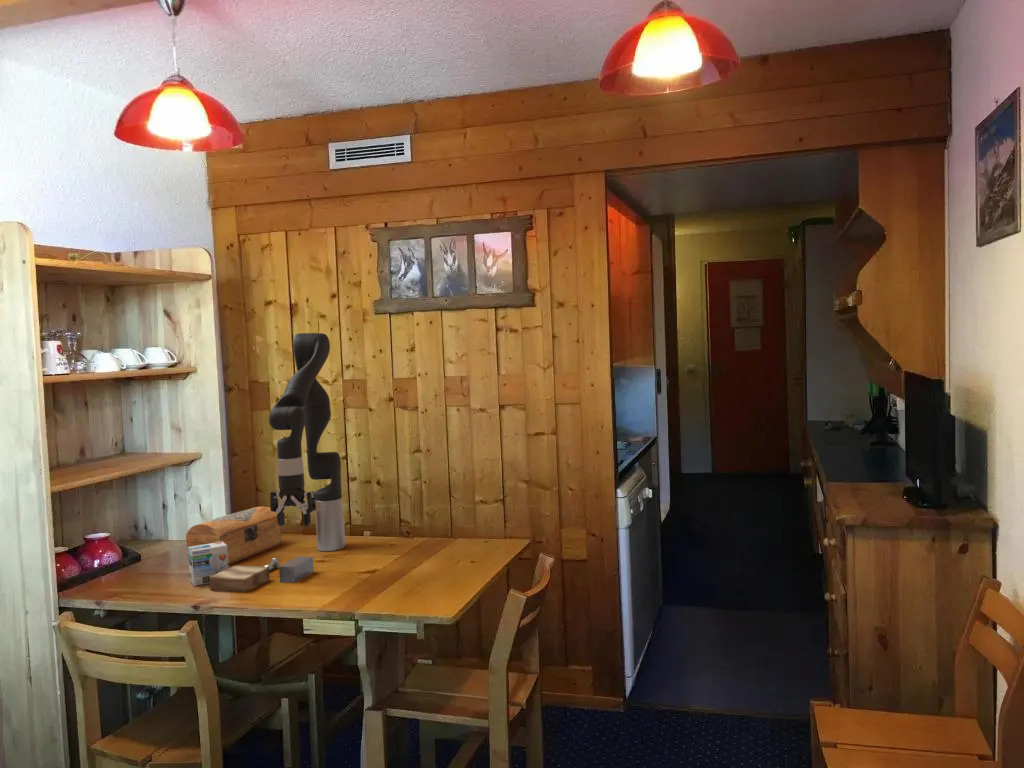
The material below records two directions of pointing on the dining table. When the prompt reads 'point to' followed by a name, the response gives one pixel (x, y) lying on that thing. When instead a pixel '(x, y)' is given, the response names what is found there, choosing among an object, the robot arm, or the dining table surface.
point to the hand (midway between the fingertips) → (294, 525)
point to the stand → (239, 578)
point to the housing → (296, 569)
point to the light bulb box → (207, 561)
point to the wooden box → (239, 532)
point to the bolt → (273, 564)
